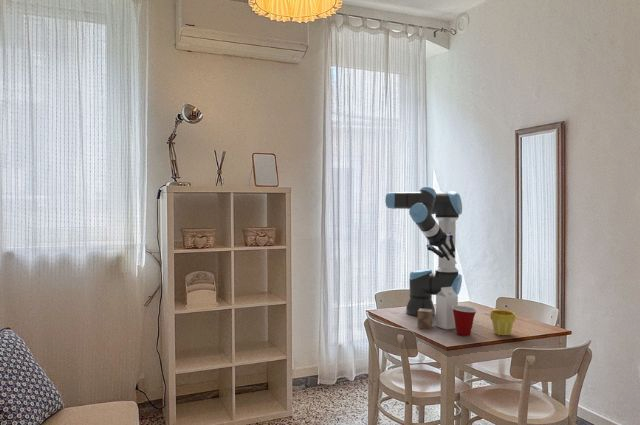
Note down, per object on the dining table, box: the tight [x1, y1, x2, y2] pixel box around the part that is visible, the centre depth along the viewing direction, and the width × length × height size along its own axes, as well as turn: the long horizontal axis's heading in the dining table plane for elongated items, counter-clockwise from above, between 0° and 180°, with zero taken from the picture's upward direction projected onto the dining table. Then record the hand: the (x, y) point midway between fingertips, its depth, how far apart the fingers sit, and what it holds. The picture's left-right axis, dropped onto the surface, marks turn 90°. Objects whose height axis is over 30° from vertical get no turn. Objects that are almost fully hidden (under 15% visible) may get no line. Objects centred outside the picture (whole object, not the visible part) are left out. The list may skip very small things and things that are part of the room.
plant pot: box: [489, 309, 516, 336], centre depth 209 cm, size 10×10×10 cm
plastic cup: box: [452, 305, 478, 337], centre depth 208 cm, size 11×11×12 cm
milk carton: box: [435, 287, 459, 330], centre depth 220 cm, size 7×7×19 cm
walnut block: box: [417, 308, 434, 330], centre depth 221 cm, size 6×6×8 cm
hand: (454, 262), depth 219 cm, fingers closed
